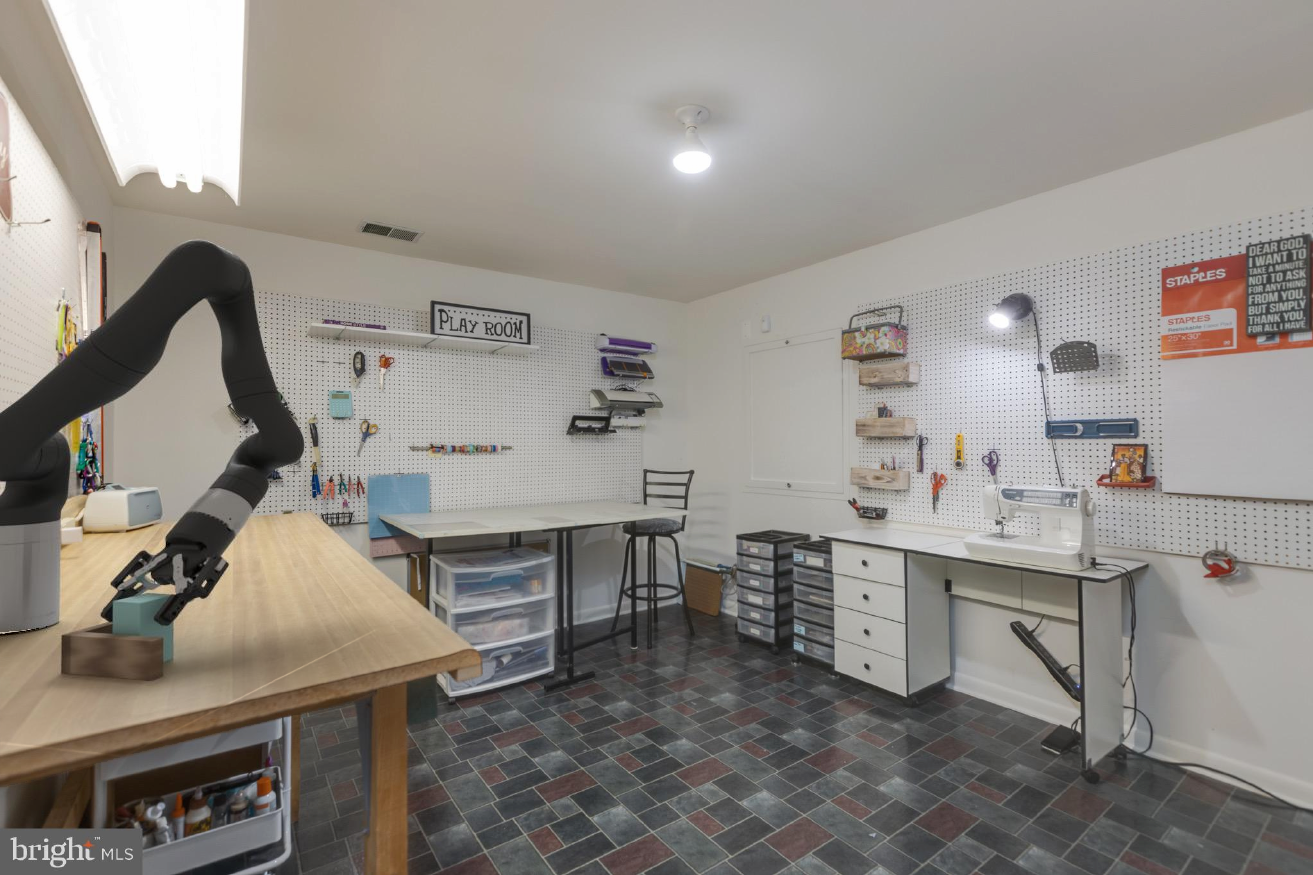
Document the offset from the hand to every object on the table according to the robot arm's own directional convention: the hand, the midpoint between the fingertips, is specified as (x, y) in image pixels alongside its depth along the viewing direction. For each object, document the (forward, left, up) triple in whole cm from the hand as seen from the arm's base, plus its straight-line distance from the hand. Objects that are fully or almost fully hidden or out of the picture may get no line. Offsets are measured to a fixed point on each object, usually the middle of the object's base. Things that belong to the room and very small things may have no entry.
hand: (133, 621), depth 79 cm
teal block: (0, +1, -6) cm, 6 cm away
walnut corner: (0, +1, -6) cm, 6 cm away
